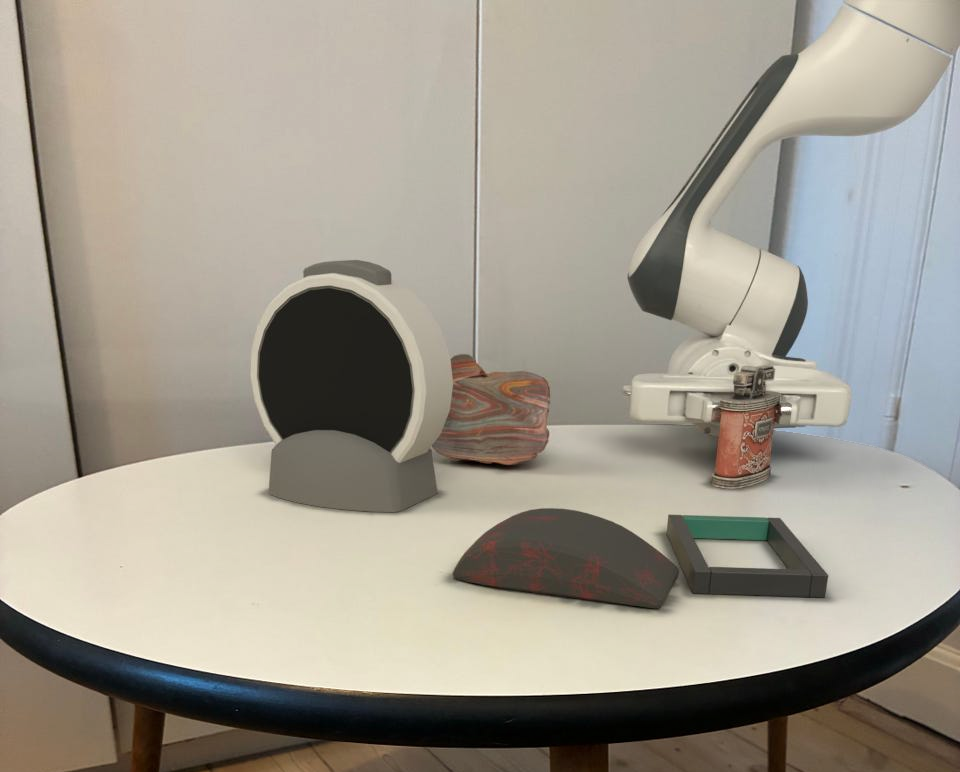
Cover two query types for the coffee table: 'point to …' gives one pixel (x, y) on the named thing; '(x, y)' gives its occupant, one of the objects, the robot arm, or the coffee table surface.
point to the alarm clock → (351, 389)
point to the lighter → (746, 429)
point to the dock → (794, 581)
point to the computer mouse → (569, 559)
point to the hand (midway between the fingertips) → (752, 414)
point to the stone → (494, 415)
